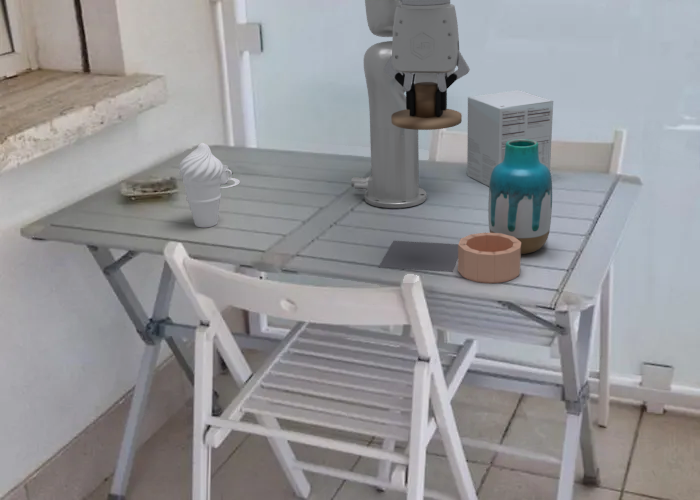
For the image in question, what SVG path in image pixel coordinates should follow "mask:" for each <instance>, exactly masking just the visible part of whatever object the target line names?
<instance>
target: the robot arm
mask: <svg viewBox="0 0 700 500" xmlns="http://www.w3.org/2000/svg"><path fill="white" fill-rule="evenodd" d="M364 3H365V4H364V5H365V6H364V7H365V14H366V21H367V22H366V23H367V26H368V28H369V31H370V32H371V33H372V35H374V36H375V37H381V38H392V39H391V40H386V41H381V42H378V43H374V44H372V45H371V46H369V47H368V49H366V51H365V52H364V55H363V70H364V71H363V72H364V77H365V83H366V88H367V97H368V107H369V109H368V111H369V132H370V133H369V136H370V141H369V142H370V163H371V164H370V167H371V168H370V173H371V175H370V176H367V177H357V176H355V177H353V176H352V177H351V182H350V185H351V187H353V188H354V190H365V191H366V192H364V195H363V196H364V201H365V202H366V203H367V204H369V205H371V206H374V207H378V208H385V209H403V208H411V207H414V206H418V205H420V204H422V203H424V202H425V201H426V200H427V191H426V190H425V189H423V188H421V187H420V186H419V185H420V180H419V179H420V178H419V172H420V171H419V170H420V169H419V165H420V163H419V159H420V158H419V157H420V156H419V154H420V153H419V130H413V129H405V128H400V127H397V126H394V125H393V124H392V121H391V116H392V114H393V113H395V112H398V111H401V110H406V109H407V110H410V116H414V115H415V84H416V83H420V82H434V83H437V84H438V91H437V92H436V116H437V117H440V116H441V115H442V114H443V110H445V111H446V109H448V104H447V103H448V93H447V91H448V89H449V88H450V87H451V86H452V85H453V84H454V83H455V82H456V81H458V80H459V79H461V78H462V77H464V76H467V74H469V72H470V70H471V69H470V67H469V65H468V64H467V62H466V60H465V59H464V57H463V55H462V53H461V52H460V39H459V27H458V26H459V24H458V19H457V18H458V17H457V11H456V8H455V7H456V5H455V4H451V0H364ZM456 68H457V70H456Z"/></svg>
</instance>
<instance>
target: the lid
mask: <svg viewBox="0 0 700 500" xmlns="http://www.w3.org/2000/svg"><path fill="white" fill-rule="evenodd" d="M437 91H438V84H437V83H434V82H420V83H416V84H415V115H414V116H410V110H407V109H406V110H401V111H398V112H395V113H393V114H392V116H391V121H392V124H393V125H394V126H397V127H400V128H405V129H413V130H418V131H425V130H426V131H428V130H429V131H431V130H432V131H433V130H442V129H449V128H453V127H455V126H458V125H460V124H461V123H462V117H463V116H462V113H461V112H460V111H457V110H455V109H450V108H447V109H446V111H445V110H443V114H442V115H441V116H440V117H437V116H436V92H437Z"/></svg>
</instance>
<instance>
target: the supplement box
mask: <svg viewBox="0 0 700 500" xmlns="http://www.w3.org/2000/svg"><path fill="white" fill-rule="evenodd" d="M553 111H554V100H552V99H549V98H545V97H543V96H542V97H541V96H538V95H535V94H532V93H530V92H526V91H524V90H521V89H516V90H509V91H507V90H506V91H501V92H494V93H485V94H478V95H471V96H467V147H466V148H467V151H466V152H467V153H466V155H467V158H466V159H467V161H466V162H467V164H466V166H467V167H466V170H467V171H466V175H467V177H470V178H472V179H474V180H475V181H478V182H479V183H481V184H483V185H485V186H486V187H489V185H490V178H491V173H492V171H493V169H494V167H495V166H497V165H498V164H500V163H502V162H503V160H504V155H505V145H506V142H508V141H510V140H515V139H529V140H534V141H536V142H537V143H538V148H539V161H540V163H542V164H544V165H545V166H547V168H548V169H549V171H550V172H551V159H552V154H551V153H552V133H553V114H554V113H553Z"/></svg>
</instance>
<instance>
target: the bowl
mask: <svg viewBox="0 0 700 500" xmlns="http://www.w3.org/2000/svg"><path fill="white" fill-rule="evenodd" d="M457 244H458V259H457V272H459V275H460V276H461V277H463V278H464V279H467V280H468V281H472V282H476V283H484V284H497V283H498V284H500V283H505V282H509V281H512V280H514V279H516V278H517V277H518V276H519V275H520V272H521V267H522V266H521V265H522V263H521V262H522V254H521V242H520V241H519V240H518V239H516V238H515V237H513V236H509V235H505V234H502V233H490V232H479V233H472V234H468V235H467V236H466V235H465V236H464V237H462V238H460V239H459V242H458V243H457Z"/></svg>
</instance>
